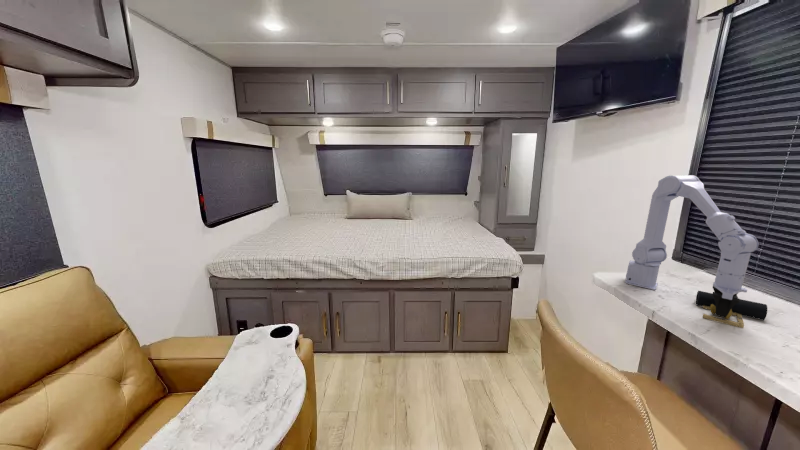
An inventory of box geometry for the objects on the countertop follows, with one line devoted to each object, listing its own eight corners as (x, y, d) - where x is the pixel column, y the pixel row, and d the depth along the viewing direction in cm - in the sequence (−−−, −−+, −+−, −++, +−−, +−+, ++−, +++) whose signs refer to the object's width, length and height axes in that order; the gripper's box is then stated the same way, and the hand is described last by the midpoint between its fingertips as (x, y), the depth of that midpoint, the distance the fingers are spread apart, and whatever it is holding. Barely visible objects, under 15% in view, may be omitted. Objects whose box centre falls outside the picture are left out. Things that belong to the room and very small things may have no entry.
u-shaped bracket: (702, 317, 93) (703, 314, 93) (702, 307, 99) (703, 304, 99) (743, 328, 87) (744, 325, 87) (740, 316, 94) (741, 313, 93)
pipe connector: (696, 282, 107) (760, 294, 98) (693, 295, 109) (755, 308, 99) (699, 293, 99) (768, 307, 89) (696, 307, 100) (764, 323, 91)
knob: (732, 317, 93) (736, 302, 92) (727, 322, 90) (731, 307, 89) (711, 310, 97) (715, 297, 96) (706, 315, 94) (710, 301, 93)
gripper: (753, 283, 83) (741, 326, 86) (748, 269, 92) (738, 308, 95) (716, 276, 87) (706, 317, 91) (716, 264, 97) (707, 301, 100)
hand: (720, 312), depth 93 cm, fingers closed on knob, 5 cm apart
